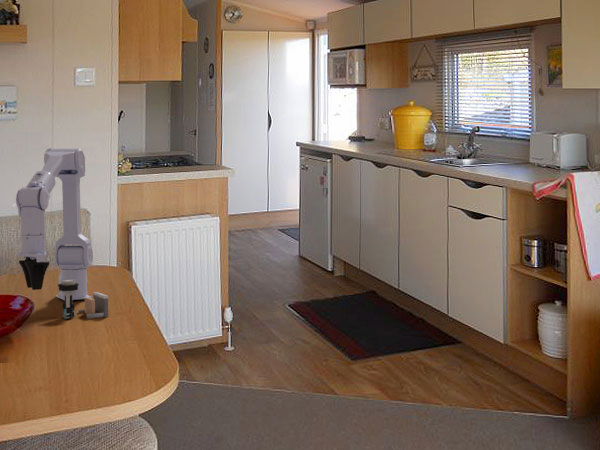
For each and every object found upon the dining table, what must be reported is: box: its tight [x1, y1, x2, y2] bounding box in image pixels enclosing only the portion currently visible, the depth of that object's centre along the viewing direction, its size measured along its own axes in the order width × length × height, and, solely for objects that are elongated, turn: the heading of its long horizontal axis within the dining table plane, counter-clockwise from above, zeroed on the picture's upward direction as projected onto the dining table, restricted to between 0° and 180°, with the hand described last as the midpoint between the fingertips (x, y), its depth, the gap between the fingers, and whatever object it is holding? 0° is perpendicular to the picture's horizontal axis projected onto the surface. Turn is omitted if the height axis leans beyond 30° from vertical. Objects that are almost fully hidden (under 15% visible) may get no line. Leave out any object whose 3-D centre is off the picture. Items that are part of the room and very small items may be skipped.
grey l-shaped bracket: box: [77, 291, 109, 320], centre depth 194 cm, size 9×6×6 cm, turn 35°
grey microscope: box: [57, 280, 79, 320], centre depth 190 cm, size 7×5×10 cm
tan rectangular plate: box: [84, 297, 96, 315], centre depth 193 cm, size 6×1×4 cm, turn 35°
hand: (34, 288), depth 179 cm, fingers open, 4 cm apart
